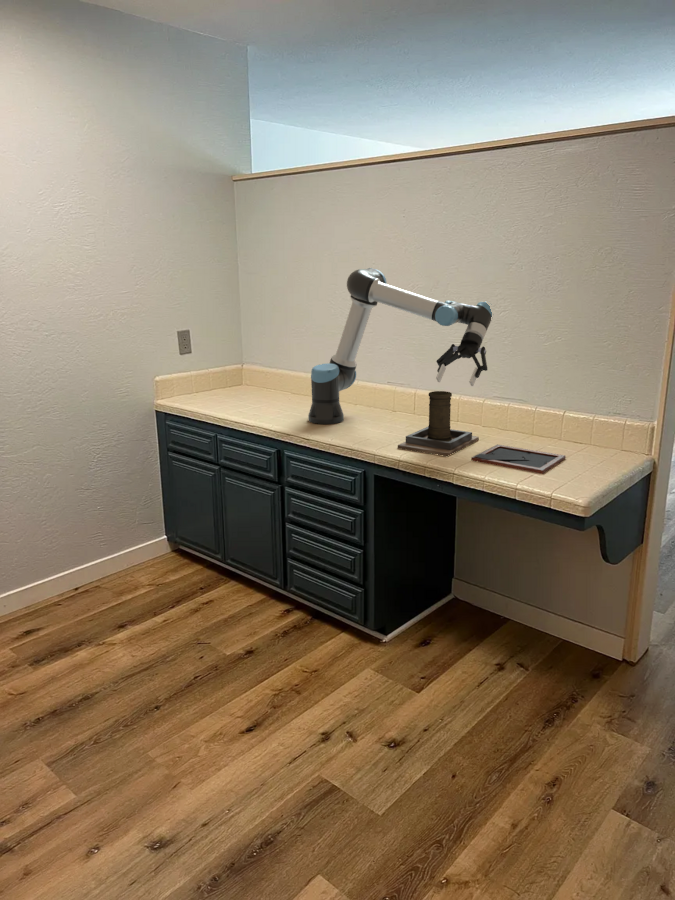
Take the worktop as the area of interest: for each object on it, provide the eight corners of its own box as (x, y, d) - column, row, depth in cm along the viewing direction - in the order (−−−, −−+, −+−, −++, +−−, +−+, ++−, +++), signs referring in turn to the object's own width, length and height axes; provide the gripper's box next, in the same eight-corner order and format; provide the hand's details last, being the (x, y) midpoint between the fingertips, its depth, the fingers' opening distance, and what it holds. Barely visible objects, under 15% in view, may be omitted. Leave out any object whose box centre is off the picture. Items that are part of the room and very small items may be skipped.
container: (450, 444, 244) (452, 395, 239) (425, 443, 246) (426, 395, 241) (452, 438, 253) (453, 390, 248) (427, 437, 254) (428, 390, 249)
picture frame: (471, 462, 229) (542, 475, 214) (471, 456, 229) (542, 469, 214) (497, 448, 244) (565, 460, 229) (497, 443, 244) (565, 454, 229)
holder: (431, 432, 265) (431, 423, 264) (478, 439, 254) (479, 430, 253) (397, 448, 245) (397, 438, 244) (447, 456, 234) (447, 446, 233)
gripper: (506, 345, 255) (488, 391, 248) (446, 341, 269) (427, 384, 262) (502, 333, 250) (483, 379, 242) (441, 329, 263) (421, 372, 256)
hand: (454, 382), depth 252 cm, fingers open, 13 cm apart
